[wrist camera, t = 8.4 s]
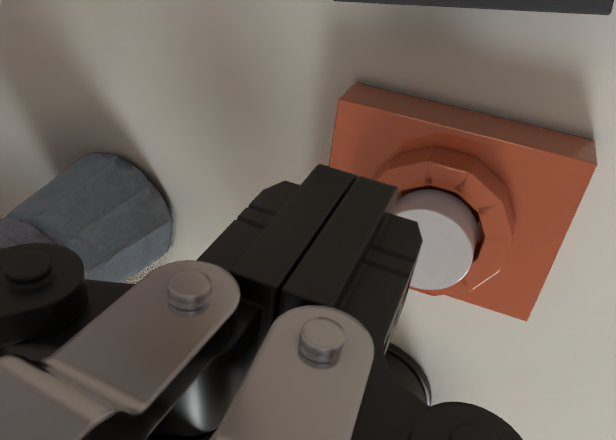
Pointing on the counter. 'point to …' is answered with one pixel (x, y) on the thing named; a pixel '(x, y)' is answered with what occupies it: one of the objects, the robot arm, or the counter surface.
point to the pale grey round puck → (440, 237)
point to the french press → (408, 373)
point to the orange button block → (473, 183)
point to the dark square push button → (513, 5)
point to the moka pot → (96, 218)
